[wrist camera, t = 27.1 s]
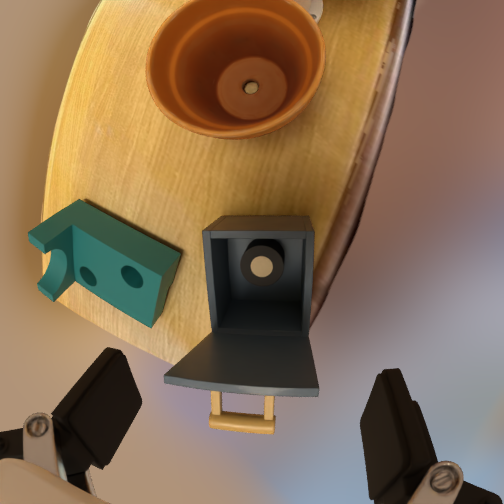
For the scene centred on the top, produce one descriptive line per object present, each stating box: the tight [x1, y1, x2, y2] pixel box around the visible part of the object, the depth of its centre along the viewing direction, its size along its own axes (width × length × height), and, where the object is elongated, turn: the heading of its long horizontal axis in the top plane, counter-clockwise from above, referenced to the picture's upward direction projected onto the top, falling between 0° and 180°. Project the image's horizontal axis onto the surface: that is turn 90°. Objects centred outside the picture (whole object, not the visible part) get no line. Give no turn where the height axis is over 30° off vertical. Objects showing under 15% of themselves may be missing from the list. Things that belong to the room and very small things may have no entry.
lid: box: [164, 332, 319, 434], centre depth 23 cm, size 12×11×5 cm
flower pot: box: [146, 0, 326, 139], centre depth 23 cm, size 14×14×13 cm
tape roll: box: [240, 239, 285, 286], centre depth 32 cm, size 5×5×4 cm
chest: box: [202, 216, 315, 337], centre depth 31 cm, size 12×11×8 cm
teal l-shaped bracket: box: [28, 199, 181, 328], centre depth 33 cm, size 18×11×10 cm, turn 65°
